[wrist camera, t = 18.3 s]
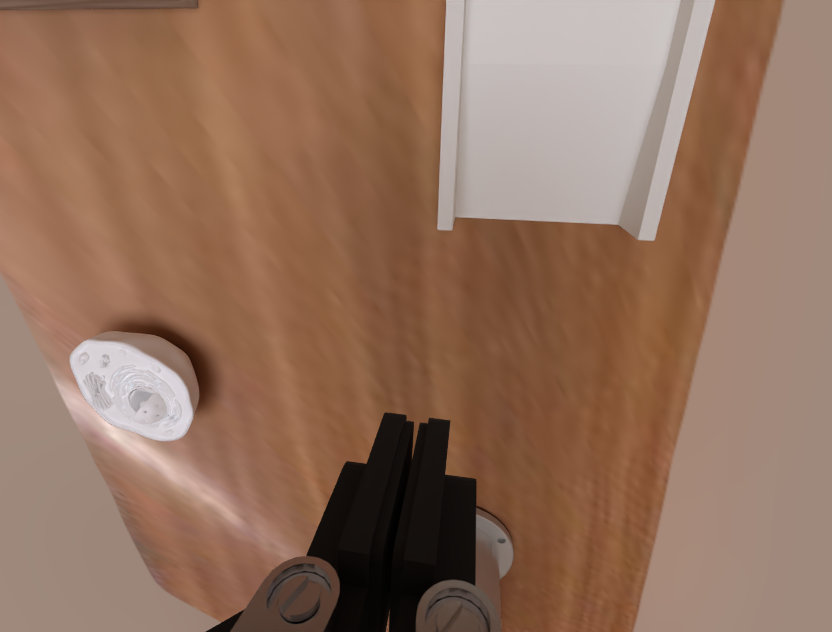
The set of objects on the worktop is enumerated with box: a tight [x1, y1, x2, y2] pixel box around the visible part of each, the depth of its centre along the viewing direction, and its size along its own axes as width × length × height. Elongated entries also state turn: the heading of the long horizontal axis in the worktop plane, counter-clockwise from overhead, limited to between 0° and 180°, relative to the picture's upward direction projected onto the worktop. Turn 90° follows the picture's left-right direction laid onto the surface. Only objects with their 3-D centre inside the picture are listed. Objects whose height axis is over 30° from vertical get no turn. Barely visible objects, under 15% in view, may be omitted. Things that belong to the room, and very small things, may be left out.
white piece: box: [437, 0, 715, 241], centre depth 27 cm, size 18×14×6 cm
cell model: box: [69, 331, 199, 441], centre depth 40 cm, size 10×12×7 cm
